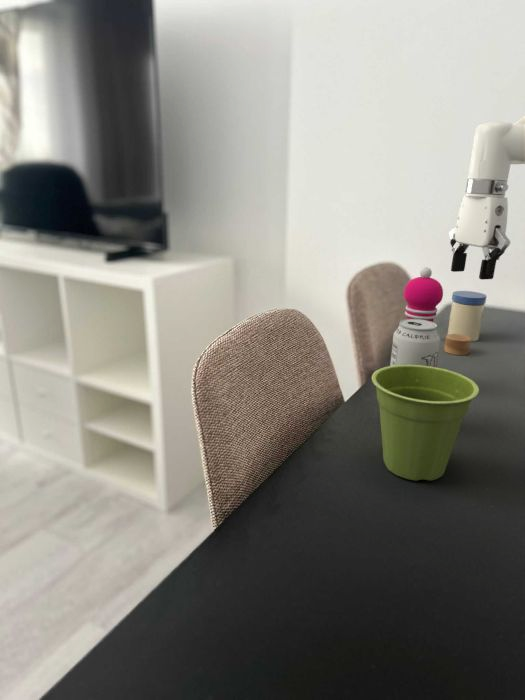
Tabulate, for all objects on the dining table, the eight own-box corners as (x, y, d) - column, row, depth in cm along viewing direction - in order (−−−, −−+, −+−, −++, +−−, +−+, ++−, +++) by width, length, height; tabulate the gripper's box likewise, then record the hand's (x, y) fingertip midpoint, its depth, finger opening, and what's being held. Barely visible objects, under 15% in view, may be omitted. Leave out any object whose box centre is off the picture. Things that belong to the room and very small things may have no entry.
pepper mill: (381, 383, 87) (394, 266, 81) (404, 373, 92) (417, 262, 86) (420, 396, 83) (436, 273, 76) (441, 385, 87) (458, 268, 81)
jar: (471, 332, 117) (478, 293, 114) (483, 341, 111) (490, 300, 108) (443, 332, 117) (448, 292, 114) (453, 341, 111) (459, 299, 108)
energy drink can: (416, 439, 69) (430, 333, 64) (376, 425, 73) (386, 323, 68) (434, 424, 74) (449, 323, 69) (395, 411, 77) (407, 315, 72)
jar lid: (478, 297, 114) (479, 291, 114) (491, 305, 108) (492, 298, 108) (447, 297, 114) (448, 290, 114) (458, 304, 108) (459, 297, 107)
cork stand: (463, 347, 107) (465, 334, 106) (472, 355, 102) (474, 341, 101) (440, 347, 107) (442, 333, 106) (448, 355, 102) (450, 340, 101)
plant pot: (463, 452, 66) (477, 371, 63) (464, 504, 56) (481, 410, 52) (371, 435, 70) (379, 358, 66) (355, 481, 59) (364, 392, 56)
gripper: (534, 191, 97) (516, 282, 103) (470, 188, 113) (457, 267, 118) (503, 190, 95) (486, 284, 100) (442, 187, 110) (430, 268, 116)
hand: (471, 274), depth 109 cm, fingers open, 8 cm apart
